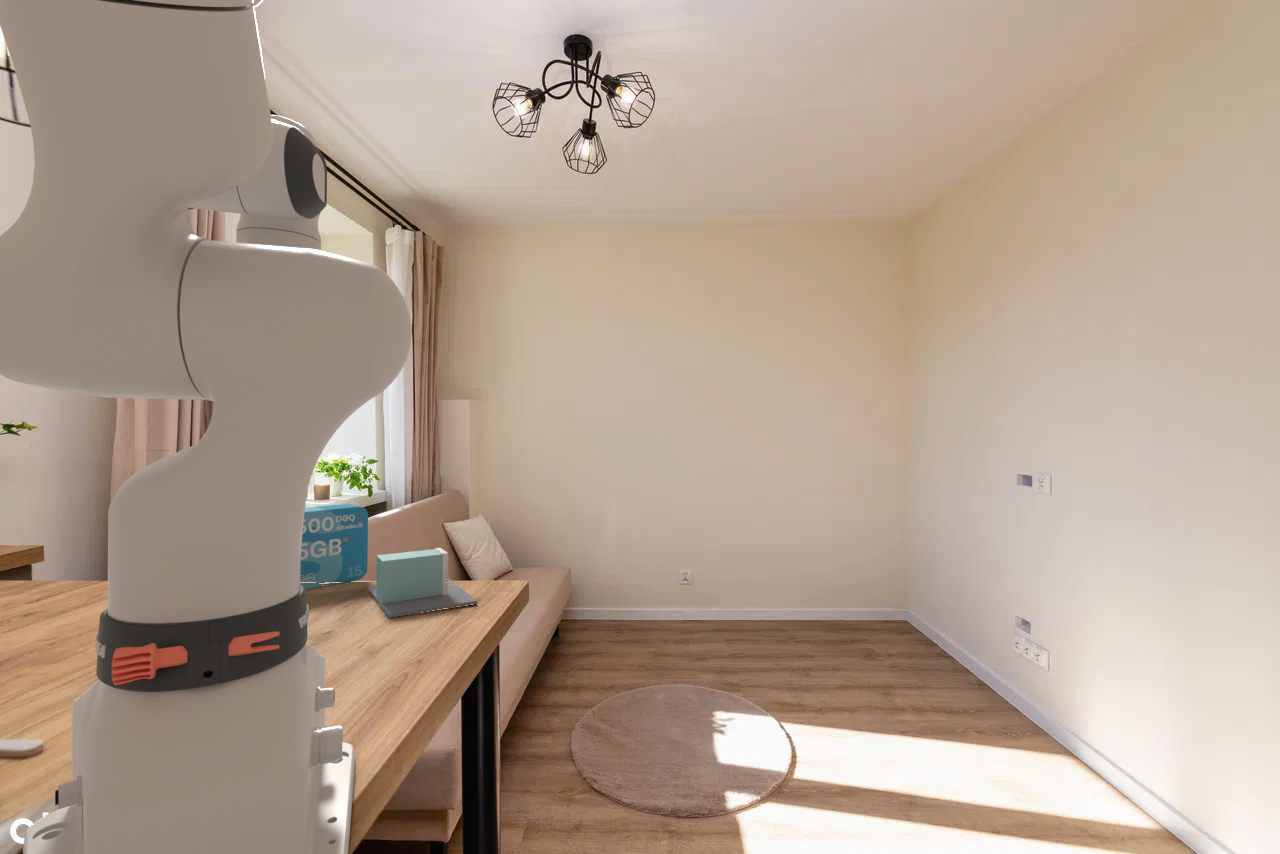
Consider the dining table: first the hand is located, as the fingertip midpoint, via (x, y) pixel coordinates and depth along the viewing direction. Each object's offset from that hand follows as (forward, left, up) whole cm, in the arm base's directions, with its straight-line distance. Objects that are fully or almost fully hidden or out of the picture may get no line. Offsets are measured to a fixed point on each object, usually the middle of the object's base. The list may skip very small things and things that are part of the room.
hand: (278, 378), depth 75 cm
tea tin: (+7, -13, -28) cm, 31 cm away
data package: (+23, -8, -31) cm, 40 cm away
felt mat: (+7, -19, -31) cm, 37 cm away
